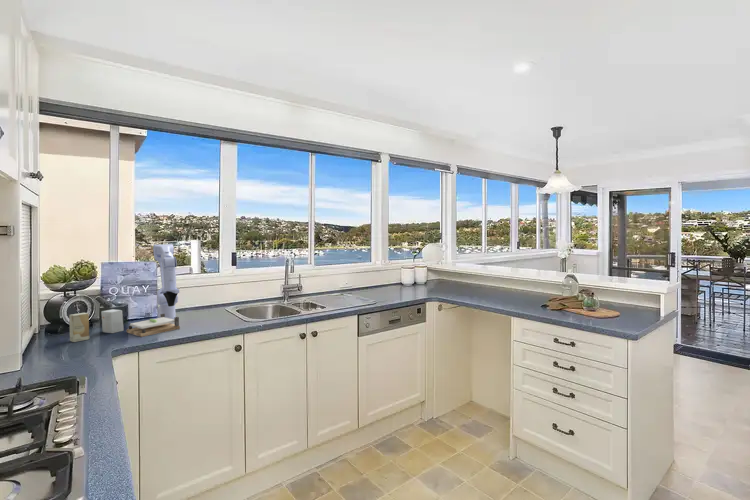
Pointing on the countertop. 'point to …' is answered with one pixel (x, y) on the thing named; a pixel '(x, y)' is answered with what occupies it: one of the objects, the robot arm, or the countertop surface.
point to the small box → (112, 321)
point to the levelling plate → (152, 322)
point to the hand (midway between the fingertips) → (171, 306)
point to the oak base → (154, 328)
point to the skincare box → (79, 327)
